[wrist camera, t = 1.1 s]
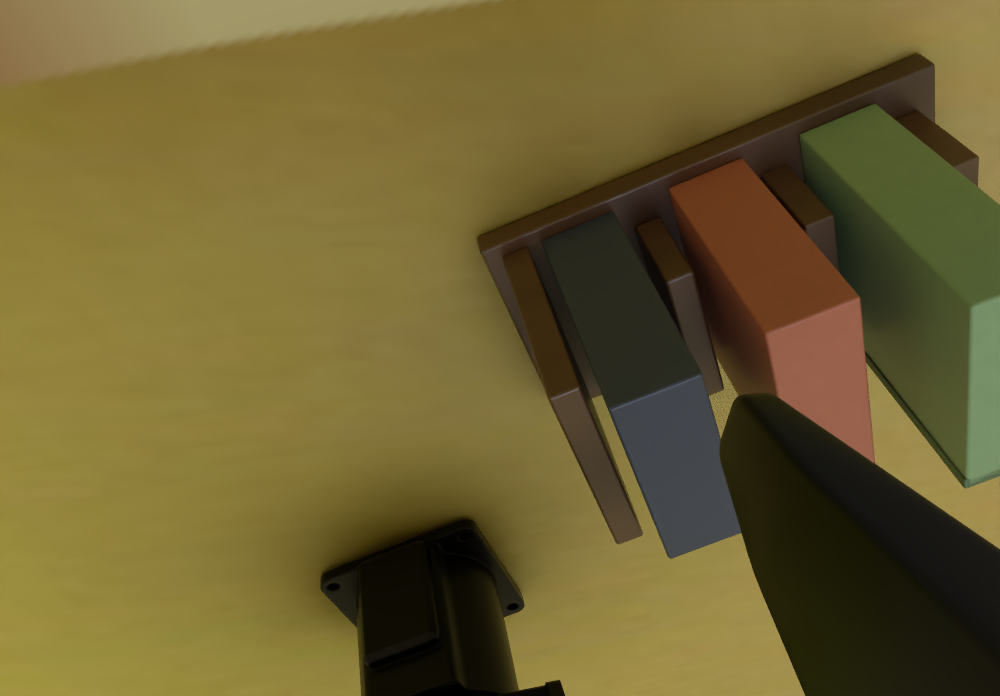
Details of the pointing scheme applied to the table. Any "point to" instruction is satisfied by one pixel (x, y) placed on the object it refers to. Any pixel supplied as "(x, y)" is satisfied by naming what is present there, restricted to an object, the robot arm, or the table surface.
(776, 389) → the terracotta book
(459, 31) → the table surface
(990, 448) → the sage-green book
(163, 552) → the table surface
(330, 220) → the table surface
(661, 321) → the navy book
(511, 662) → the robot arm
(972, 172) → the book rack
